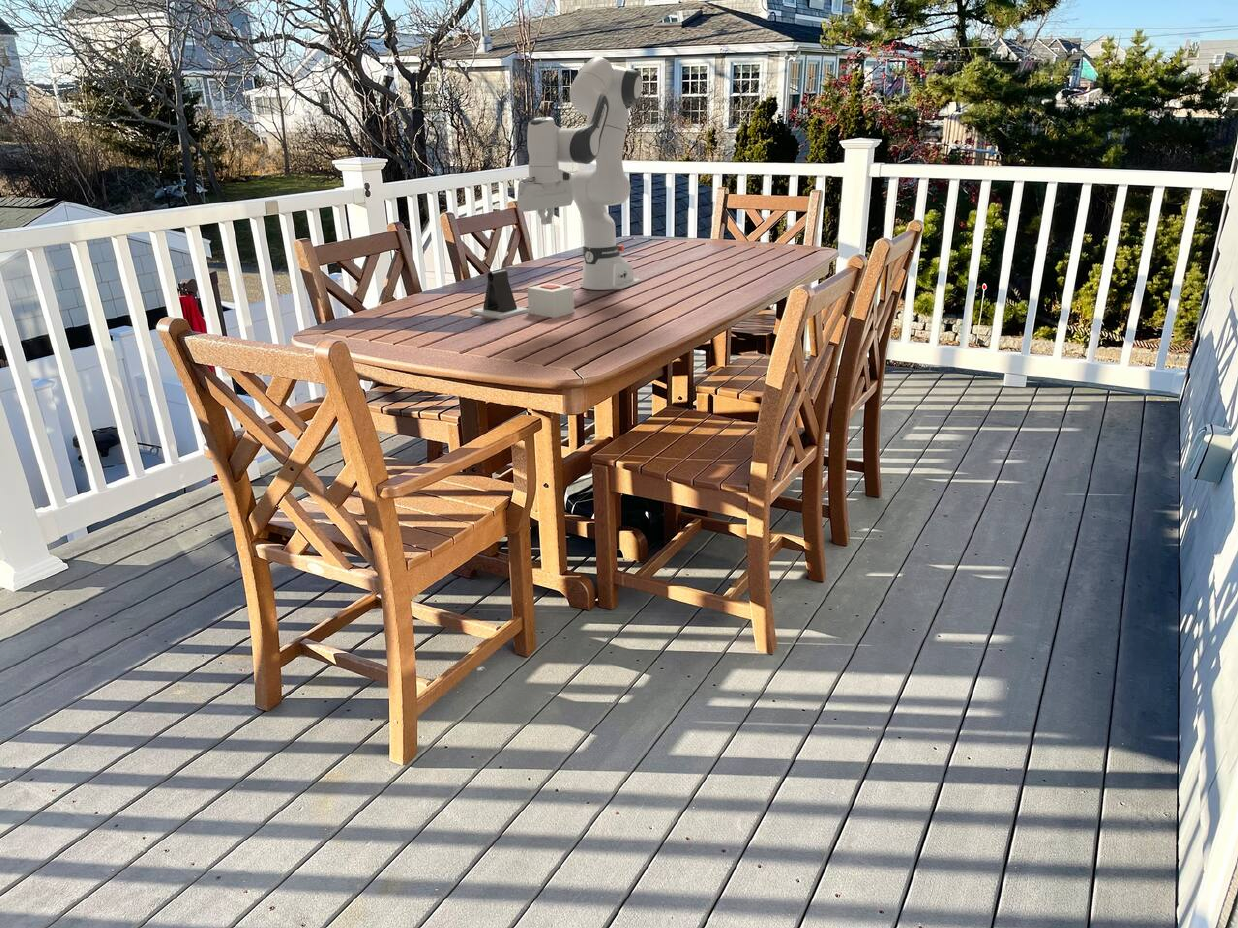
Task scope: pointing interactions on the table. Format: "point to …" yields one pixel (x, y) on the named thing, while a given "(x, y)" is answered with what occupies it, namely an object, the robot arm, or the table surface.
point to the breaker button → (550, 287)
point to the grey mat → (499, 314)
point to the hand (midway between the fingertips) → (546, 224)
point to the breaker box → (551, 301)
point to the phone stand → (499, 293)
